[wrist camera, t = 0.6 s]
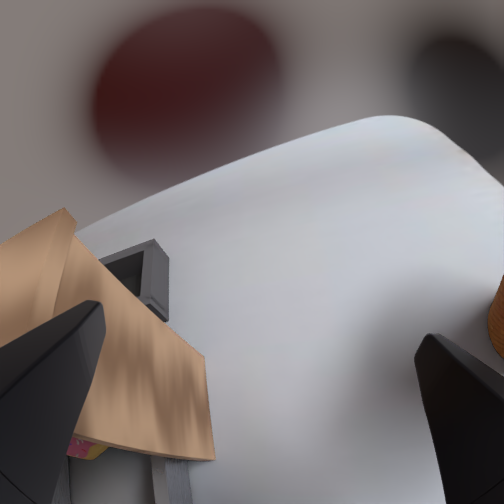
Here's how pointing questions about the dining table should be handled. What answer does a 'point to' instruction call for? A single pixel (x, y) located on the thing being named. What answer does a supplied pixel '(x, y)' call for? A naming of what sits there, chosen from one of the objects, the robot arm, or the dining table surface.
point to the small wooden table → (109, 345)
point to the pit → (143, 275)
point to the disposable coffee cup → (497, 320)
